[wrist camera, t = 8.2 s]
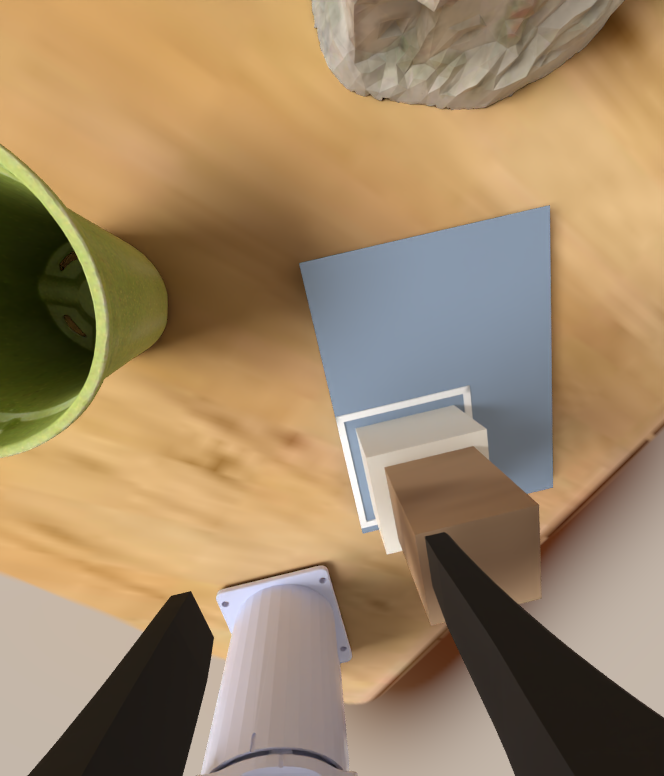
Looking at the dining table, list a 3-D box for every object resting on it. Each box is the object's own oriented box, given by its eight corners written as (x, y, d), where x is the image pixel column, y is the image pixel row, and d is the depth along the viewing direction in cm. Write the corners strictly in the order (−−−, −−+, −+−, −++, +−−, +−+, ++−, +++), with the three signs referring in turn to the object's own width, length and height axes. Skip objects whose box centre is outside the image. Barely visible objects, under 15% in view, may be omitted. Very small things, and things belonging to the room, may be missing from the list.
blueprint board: (542, 479, 22) (554, 488, 21) (360, 522, 21) (363, 534, 20) (535, 210, 17) (551, 204, 16) (299, 265, 16) (298, 262, 15)
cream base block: (463, 489, 20) (494, 528, 17) (373, 511, 20) (386, 554, 17) (453, 405, 18) (486, 429, 15) (355, 428, 18) (366, 457, 15)
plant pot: (101, 151, 14) (-177, -46, 6) (240, 314, 17) (177, 331, 9) (-31, 280, 16) (-418, 262, 7) (119, 416, 18) (-40, 517, 10)
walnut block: (480, 520, 17) (541, 598, 12) (398, 540, 16) (430, 625, 12) (473, 445, 15) (538, 504, 11) (384, 467, 15) (415, 535, 11)
